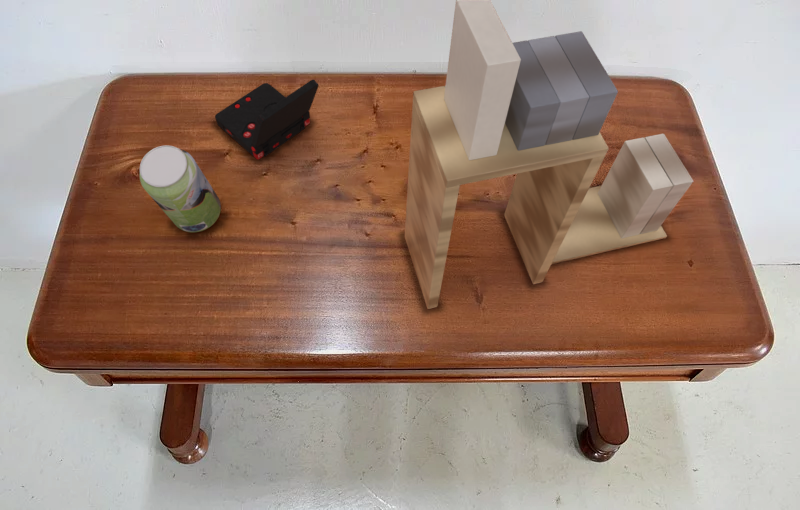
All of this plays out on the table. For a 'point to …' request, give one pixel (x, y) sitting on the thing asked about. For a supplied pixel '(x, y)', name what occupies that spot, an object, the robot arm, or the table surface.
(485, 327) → the table surface
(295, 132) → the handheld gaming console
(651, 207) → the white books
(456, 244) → the table surface
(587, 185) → the wooden stand
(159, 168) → the beverage can
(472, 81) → the white book
